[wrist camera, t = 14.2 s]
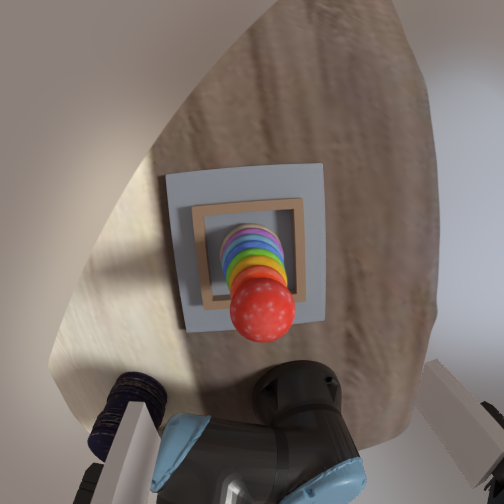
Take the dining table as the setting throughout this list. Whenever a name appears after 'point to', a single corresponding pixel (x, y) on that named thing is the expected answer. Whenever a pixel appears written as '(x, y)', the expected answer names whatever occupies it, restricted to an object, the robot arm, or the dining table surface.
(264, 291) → the stacking toy
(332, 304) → the dining table surface
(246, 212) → the baseplate
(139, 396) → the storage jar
